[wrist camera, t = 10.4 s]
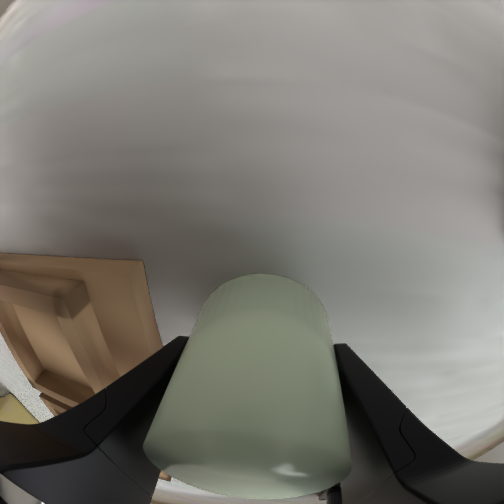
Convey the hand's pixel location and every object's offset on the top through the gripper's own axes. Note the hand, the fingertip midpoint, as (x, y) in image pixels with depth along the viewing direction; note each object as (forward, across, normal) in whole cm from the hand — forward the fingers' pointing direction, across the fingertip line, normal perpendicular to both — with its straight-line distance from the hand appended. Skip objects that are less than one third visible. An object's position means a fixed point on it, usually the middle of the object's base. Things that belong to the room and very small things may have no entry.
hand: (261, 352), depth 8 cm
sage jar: (+1, 0, 0) cm, 1 cm away
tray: (+2, +12, +8) cm, 15 cm away
